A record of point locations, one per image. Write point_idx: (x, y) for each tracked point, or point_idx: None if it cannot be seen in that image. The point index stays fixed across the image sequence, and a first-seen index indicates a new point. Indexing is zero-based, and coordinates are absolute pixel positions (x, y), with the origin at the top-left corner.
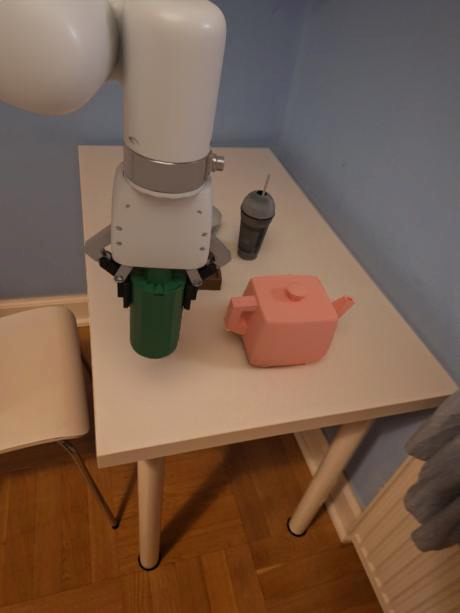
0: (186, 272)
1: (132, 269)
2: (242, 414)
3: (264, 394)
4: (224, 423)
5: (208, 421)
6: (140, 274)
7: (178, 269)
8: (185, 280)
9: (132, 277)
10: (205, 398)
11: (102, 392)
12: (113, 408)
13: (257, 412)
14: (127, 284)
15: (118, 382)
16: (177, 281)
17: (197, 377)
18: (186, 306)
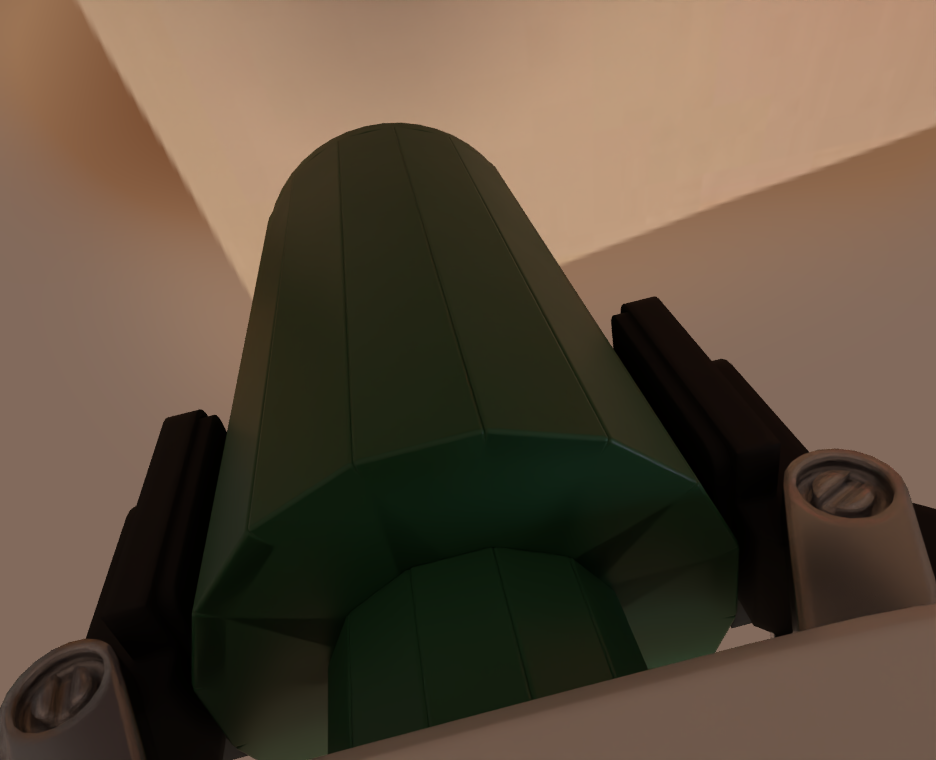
0: (736, 558)
1: (218, 697)
2: (712, 167)
3: (811, 61)
4: (648, 213)
5: (595, 216)
6: (317, 710)
7: (659, 554)
8: (721, 637)
9: (264, 756)
10: (583, 128)
11: (199, 182)
12: None
13: (767, 148)
14: (247, 755)
15: (237, 125)
16: (651, 662)
17: (548, 30)
18: None
